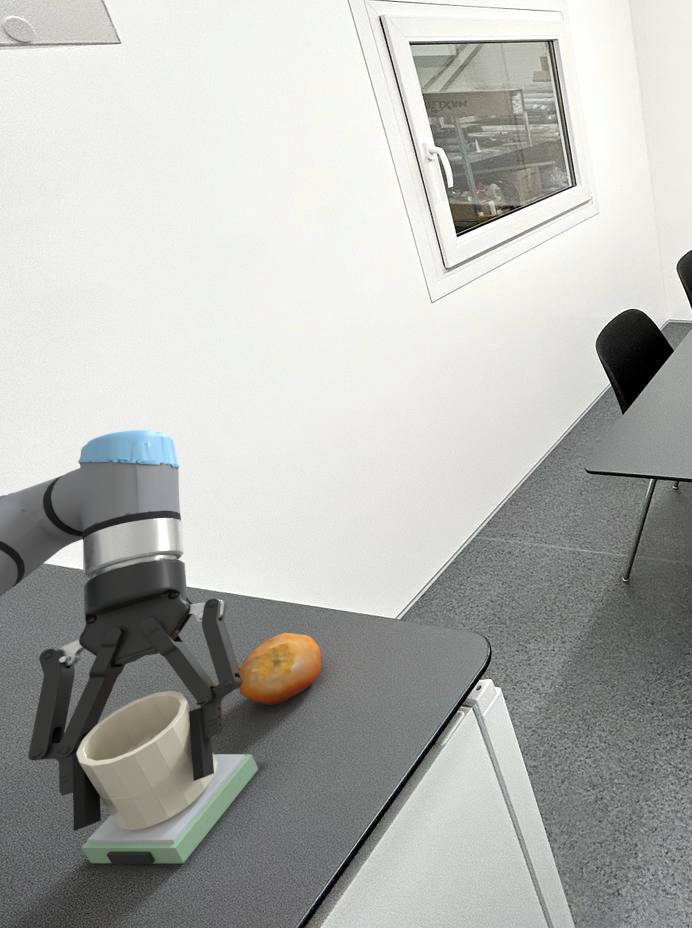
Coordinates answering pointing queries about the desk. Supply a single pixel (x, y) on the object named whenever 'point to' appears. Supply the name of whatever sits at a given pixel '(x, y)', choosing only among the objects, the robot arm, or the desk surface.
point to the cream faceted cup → (143, 760)
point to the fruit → (280, 668)
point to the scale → (174, 822)
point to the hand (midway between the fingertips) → (147, 800)
